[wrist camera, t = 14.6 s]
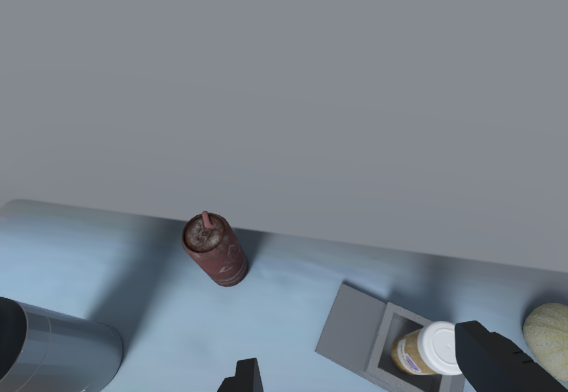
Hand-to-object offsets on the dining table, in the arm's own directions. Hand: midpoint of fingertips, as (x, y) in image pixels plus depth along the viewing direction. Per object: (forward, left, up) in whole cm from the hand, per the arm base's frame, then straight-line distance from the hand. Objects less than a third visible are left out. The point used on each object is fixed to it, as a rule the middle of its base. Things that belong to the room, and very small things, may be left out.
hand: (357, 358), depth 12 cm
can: (+7, +19, -33) cm, 39 cm away
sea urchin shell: (+17, -26, -33) cm, 45 cm away
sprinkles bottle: (+7, -9, -32) cm, 34 cm away
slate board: (+7, -7, -33) cm, 34 cm away
